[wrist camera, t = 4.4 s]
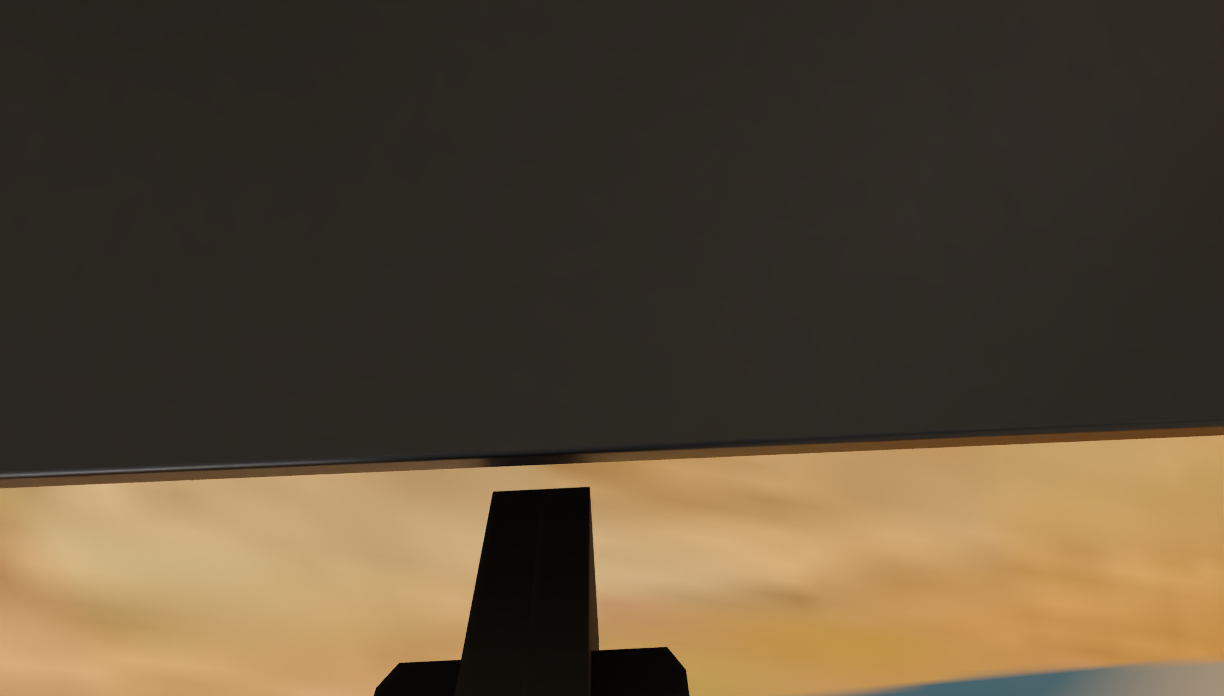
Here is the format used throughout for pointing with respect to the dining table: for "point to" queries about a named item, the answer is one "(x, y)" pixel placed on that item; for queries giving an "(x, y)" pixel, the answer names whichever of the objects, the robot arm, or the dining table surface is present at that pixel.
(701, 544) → the dining table surface
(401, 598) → the dining table surface
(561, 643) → the robot arm
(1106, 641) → the dining table surface
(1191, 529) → the dining table surface
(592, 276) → the laptop screen
